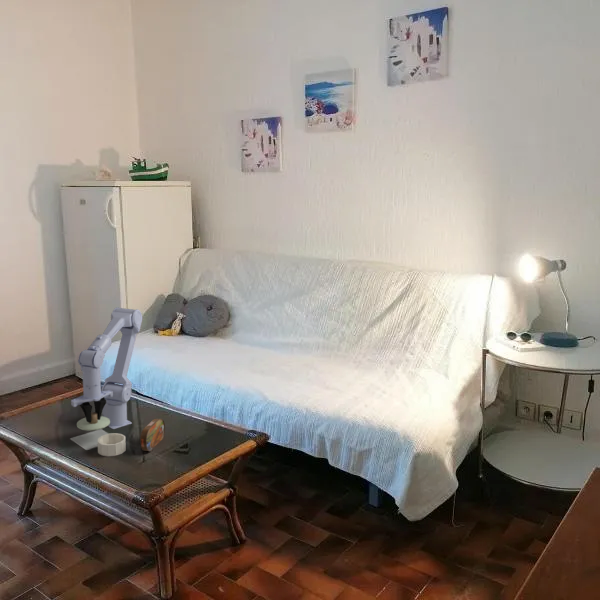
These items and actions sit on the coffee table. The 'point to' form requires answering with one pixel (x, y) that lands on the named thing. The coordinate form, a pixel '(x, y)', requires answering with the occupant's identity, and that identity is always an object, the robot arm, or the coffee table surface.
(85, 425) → the lid
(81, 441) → the mat
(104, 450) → the bowl
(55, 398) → the coffee table surface
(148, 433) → the tin
